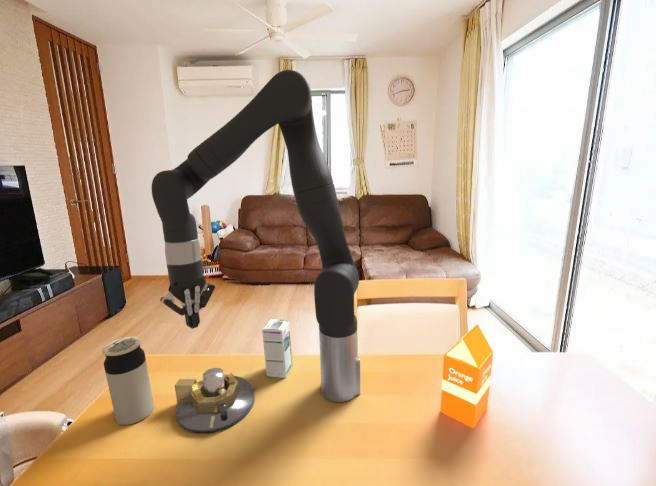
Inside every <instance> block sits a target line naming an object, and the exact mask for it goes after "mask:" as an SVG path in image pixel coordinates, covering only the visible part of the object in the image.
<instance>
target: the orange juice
mask: <svg viewBox="0 0 656 486" xmlns="http://www.w3.org/2000/svg"><path fill="white" fill-rule="evenodd" d="M493 358H494V350H493V349H492V347H491V346H490V344H489V342H488V340H487V339H486V336H485V335H484V332H482V329H481V328H480V326H479V324H478V323H476V325H475V326H473V327H472V328H471V329H470V330H469V331H468V332H466V333H465V334H464V335H463V336H462V337H461V338H460V339H458V341H456V343H454V345H452V347H451V348H450V349H449V350H448V351H447V352H446V353H445V354H444V355H443V364H442V379H441V397H440V413H442V414H444V415H446V416H448V417H450V418H452V419H454V420H456V421H458V422H460V423H463V424H464V425H466V426H468V427H469V428H471V429H474V428H475V427H476V426H477V424H478V422H479V420H480V419H481V418H482V416H483V415H484V412H485V411H487V408H488V405H489V395H490V387H491V386H490V385H491V378H492V368H493V367H492V366H493Z"/></svg>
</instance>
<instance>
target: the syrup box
mask: <svg viewBox="0 0 656 486" xmlns="http://www.w3.org/2000/svg"><path fill="white" fill-rule="evenodd" d="M264 325H265V326H264V327H263V328H262V330H261V331H262V340H263V350H264V362H265V370H266V373H265V374H266V377H272V378H278V379H279V378H280V379H286V378H287V377H288V375H289V374H290V372H291V369H292V367H293V355H292V353H293V352H292V343H291V331H290V329H291V328H290V321H289V320H288V319H280V318H278V319H277V318H275V319H272V318H271V319H269V321H268V322H267V323H266V324H264Z"/></svg>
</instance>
